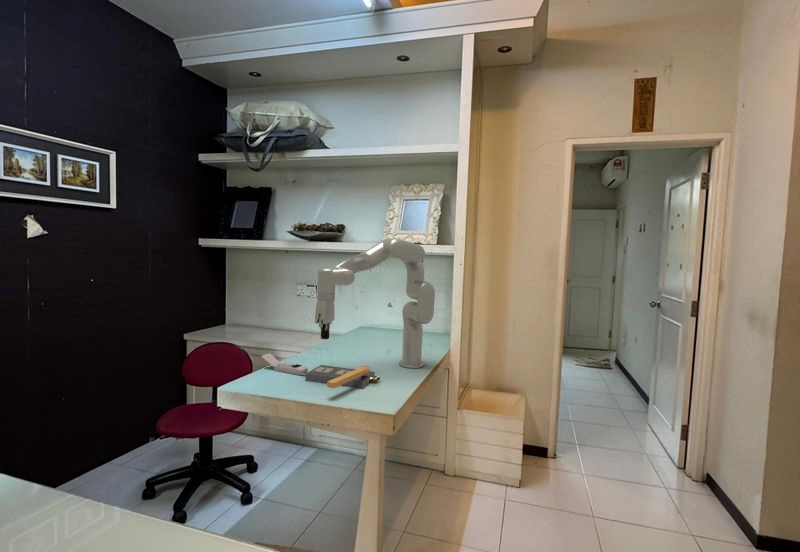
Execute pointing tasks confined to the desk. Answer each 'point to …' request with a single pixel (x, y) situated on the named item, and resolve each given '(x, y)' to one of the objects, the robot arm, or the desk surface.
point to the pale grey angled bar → (285, 366)
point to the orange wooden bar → (348, 377)
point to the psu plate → (331, 372)
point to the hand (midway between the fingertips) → (324, 338)
